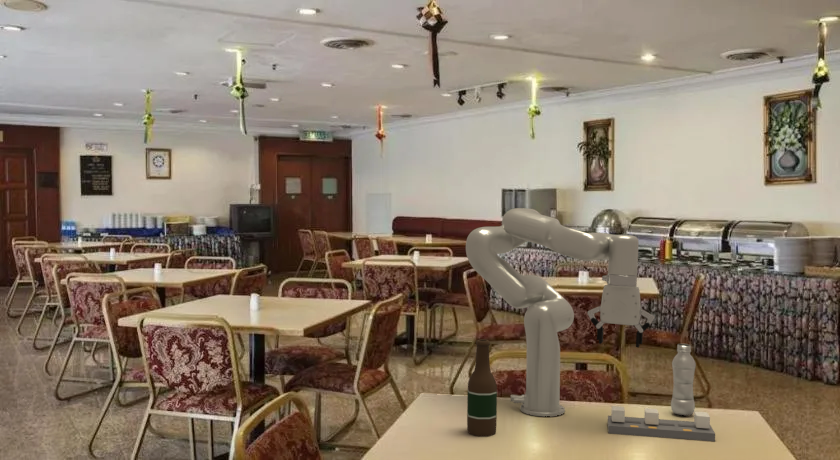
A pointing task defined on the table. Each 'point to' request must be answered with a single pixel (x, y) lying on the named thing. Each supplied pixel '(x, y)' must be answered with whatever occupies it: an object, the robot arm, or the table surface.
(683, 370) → the plastic bottle
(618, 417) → the slider
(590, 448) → the table surface
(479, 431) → the beer bottle
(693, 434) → the switch deck
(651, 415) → the slider
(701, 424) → the slider
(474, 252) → the robot arm
